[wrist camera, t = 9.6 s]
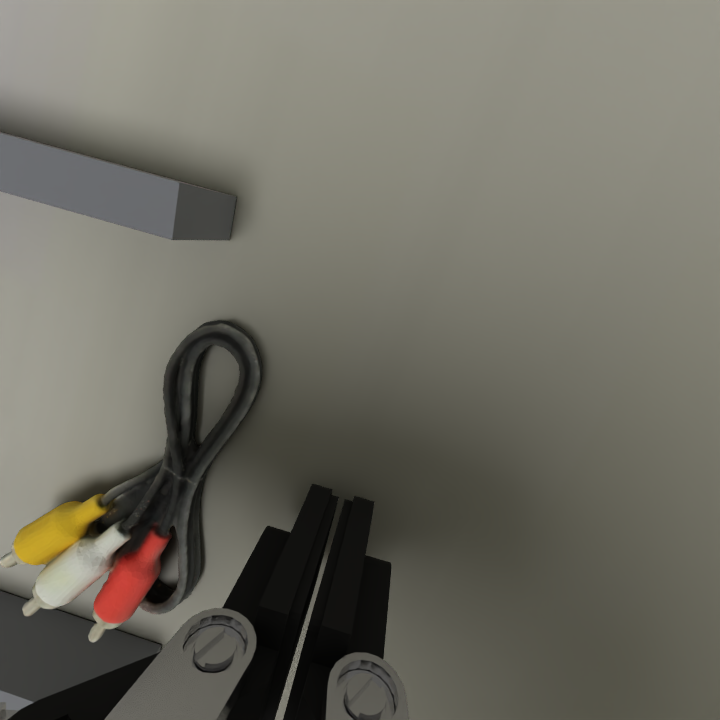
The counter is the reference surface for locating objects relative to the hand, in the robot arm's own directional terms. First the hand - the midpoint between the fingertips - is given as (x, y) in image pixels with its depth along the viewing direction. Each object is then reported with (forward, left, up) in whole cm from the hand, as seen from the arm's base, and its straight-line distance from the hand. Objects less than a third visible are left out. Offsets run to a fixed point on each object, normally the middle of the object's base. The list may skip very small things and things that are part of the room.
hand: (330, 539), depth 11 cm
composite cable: (+5, 0, -1) cm, 5 cm away
